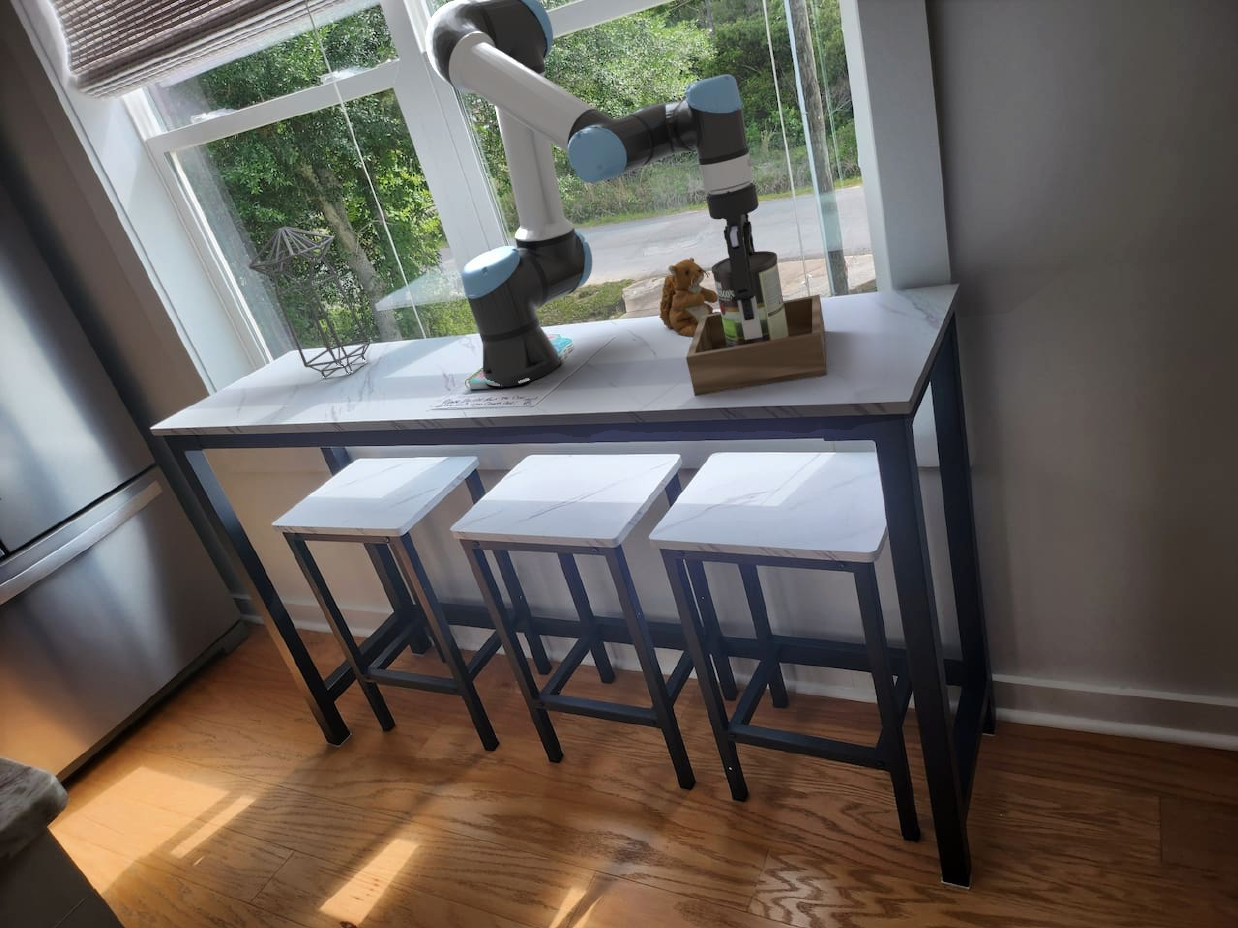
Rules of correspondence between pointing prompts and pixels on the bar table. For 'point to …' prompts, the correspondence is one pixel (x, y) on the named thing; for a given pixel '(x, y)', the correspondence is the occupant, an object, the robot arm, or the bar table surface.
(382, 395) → the bar table surface
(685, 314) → the stuffed squirrel
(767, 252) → the coffee can
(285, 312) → the geometric lantern
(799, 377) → the walnut box
